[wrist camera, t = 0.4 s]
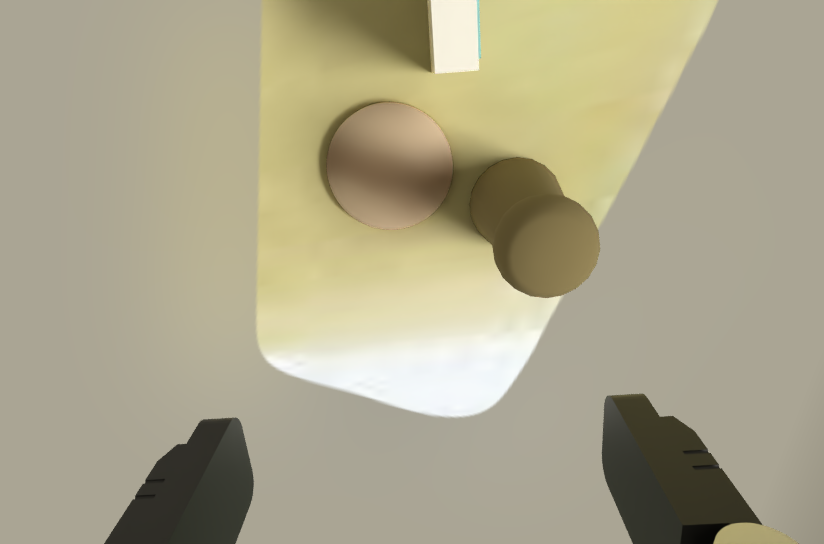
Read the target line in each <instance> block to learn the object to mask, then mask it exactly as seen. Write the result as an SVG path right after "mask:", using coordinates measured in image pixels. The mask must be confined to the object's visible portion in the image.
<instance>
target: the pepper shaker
mask: <svg viewBox="0 0 824 544" xmlns="http://www.w3.org/2000/svg"><path fill="white" fill-rule="evenodd" d="M470 211H471V217H472V220H473V222H474V224H475V226H476V228H477V230H478V231H479V232H480V233H481V234H482V235H483V236H484V237H485V238H486V239H487V240H488V241H489V242H490V243H491V244H492V246H493V253H494V260H495V263H496V265H497V267H498V269H499V271H500V273H501V275H502V277H503V278H504V279H505V280H506V281H507V282H508V283H509V284H510V285H511V286H513V287H514V288H515V289H517V290H519V291H521V292H523V293H525V294H527V295H530V296H534V297H542V298H549V297H555V296H561V295H564V294H566V293H568V292H570V291H572V290H574V289H576V288H577V287H578V286H579V285H580V284H582V282H584V281H585V280H586V279H587V278H588V277H589V276H590V274H591V272H592V271H593V269H594V268H595V266H596V264H597V260H598V256H599V252H600V243H599V233H598V229H597V227H596V225H595V223H594V220H593V218H592V216H591V215H590V214H589V213H588V212H587V211H586V210H585V209H584V208H583V207H582V206H581V205H580V204H579V203H577V202H575V201H573V200H571V199H569V198H567V197H565V196H564V194H563V192H562V190H561V188H560V186H559V184H558V181H557V179H556V177H555V175H554V174H553V173H552V172H551V171H550V170H549V169H548V168H547V167H546V166H545V165H543V164H541V163H538V162H536V161H534V160H532V159H526V158H518V157H517V158H512V159H506V160H502V161H500V162H498V163H496V164H495V165H493V166H491V167H489V168H488V169H487V170H486V171H485V172H484V173H483V174H482V175H481V176H480V177H479V178H478V180H477V182H476V184H475V186H474V188H473V190H472V194H471V200H470Z"/></svg>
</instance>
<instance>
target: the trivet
mask: <svg viewBox="0 0 824 544" xmlns="http://www.w3.org/2000/svg"><path fill="white" fill-rule="evenodd" d="M452 175H453V159H452V153H451V149H450V146H449V144H448V141H447V138H446V137H445V135H444V133H443V131H442V130H441V129H440V127H439V126H438V125H437V123H436V122H435V121H434V120H433V119H432V118H430V117H429V116H428V115H427V114H425V113H424V112H422V111H421V110H419V109H417V108H415V107H412V106H410V105H406V104H403V103H396V102H382V103H376V104H372V105H369V106H366V107H364V108H362V109H360V110H358V111H357V112H355V113H354V114H352V115H351V116H350V117H348V118H347V119H346V120H345V121H344V122H343V123H342V124H341V126H340V127H339V128H338V130H337V131H336V133H335V135H334V136H333V138H332V140H331V143H330V146H329V150H328V155H327V176H328V181H329V184H330V187H331V190H332V192H333V194H334V196H335V198H336V199H337V201H338V202H339V204H340V205H341V206H342V207H343V209H344V210H345V211H346V212H347V213H349V214H350V215H351V216H352V217H354V218H355V219H356V220H358V221H360V222H362V223H364V224H366V225H368V226H371V227H375V228H379V229H386V230H396V229H403V228H407V227H411V226H413V225H416V224H418V223H420V222H422V221H423V220H425V219H426V218H428V217H429V216H430V215H432V214H433V213H434V212H435V211H436V210H437V209H438V207H439V206H440V205H441V204H442V202H443V200H444V199H445V197H446V195H447V193H448V191H449V188H450V185H451V181H452Z"/></svg>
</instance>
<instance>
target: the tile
mask: <svg viewBox="0 0 824 544" xmlns="http://www.w3.org/2000/svg"><path fill="white" fill-rule="evenodd" d="M427 5H428V22H429V39H430V56H431V73H434V74H438V73H450V72H463V71H475V70H479V59H480V58H481V47H480V15H479V0H427Z"/></svg>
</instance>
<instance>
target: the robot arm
mask: <svg viewBox="0 0 824 544" xmlns="http://www.w3.org/2000/svg"><path fill="white" fill-rule="evenodd" d="M602 444H603V445H602V463H603V470H604V475H605V479H606V482H607V485H608V487H609V490H610V492H611V494H612V496H613V499H614V501H615V503H616V506H617V508H618V510H619V513H620V515H621V517H622V520H623V522H624V524H625V526H626V529H627V531H628V533H629V536H630V538H631V540H632V542H633V544H799V543H798V542H796V541H795V540H793V539H792V538H790V537H789V536H787V535H785V534H784V533H782V532H780V531H777V530H775V529H773V528H770V527H767V526H764V525H762V523H761V522H760V521H759V519H758V518H757V517H756V515H755V514H754V512H753V511H752V510H751V508H750V507H749V506H748V504H747V503H746V501H745V500H744V499H743V497H742V496H741V495H740V493H739V492H738V490H737V489H736V488H735V486H734V485H733V483H732V482H731V481H730V479H729V478H728V477H727V475H726V474H725V473H724V471H723V470H722V469H720V468H719V464H718V463H717V462H716V460H715V459H714V457H713V456H712V455H711V453H708V449H707V448H706V446H705V445H704V444H703V442H702V441H701V439H700V438H699V437H698V436H697V434H696V432H695V431H693V430H692V429H691V428H689V427H688V426H686V425H685V424H684V423H682V422H680V421H679V420H678V419H676V418H675V417H674V416H666V417H659V415H658V413H657V412H656V410H655V409H654V407H653V406H652V404H651V403H650V401H649V400H648V398H647V397H646V396H645V395H644V394H631V395H630V394H629V395H614V396H607V397H606V399H605V405H604V423H603V443H602ZM253 482H254V481H253V472H252V467H251V463H250V459H249V455H248V450H247V446H246V442H245V438H244V434H243V429H242V425H241V423H240V421H239V419H238V418H224V419H223V418H222V419H208V420H202V421H201V422H200V423H199V424H198V426H197V427H196V429H195V431H194V432H193V434H192V436H191V437H190V439H189V441H188V442H187V444H178V445H176V446H175V447H174V448H173V449H172V450H170V451H169V452H168V453H167V454H166V455H165V456H163V457H162V458H161V459H160V460H158V461H157V463H156V464H155V466H154V468H153V469H152V471H151V472H150V474H149V475H148V477H147V478H146V482H145V484H143V485H142V486H141V488H140V489H139V491H138V492H137V494H136V496H135V500H132V502H131V503H130V505H129V506H128V508H127V510H126V511H125V512H124V514H123V516H122V517H121V519H120V520H119V522H118V523H117V525H116V526H115V528H114V529H113V531H112V532H111V534H110V536H109V537H108V539H107V540H106V542H105V543H104V544H235V543H236V541H237V538H238V535H239V533H240V530H241V528H242V525H243V522H244V520H245V517H246V514H247V512H248V509H249V506H250V504H251V500H252V496H253V485H254V483H253Z"/></svg>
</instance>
